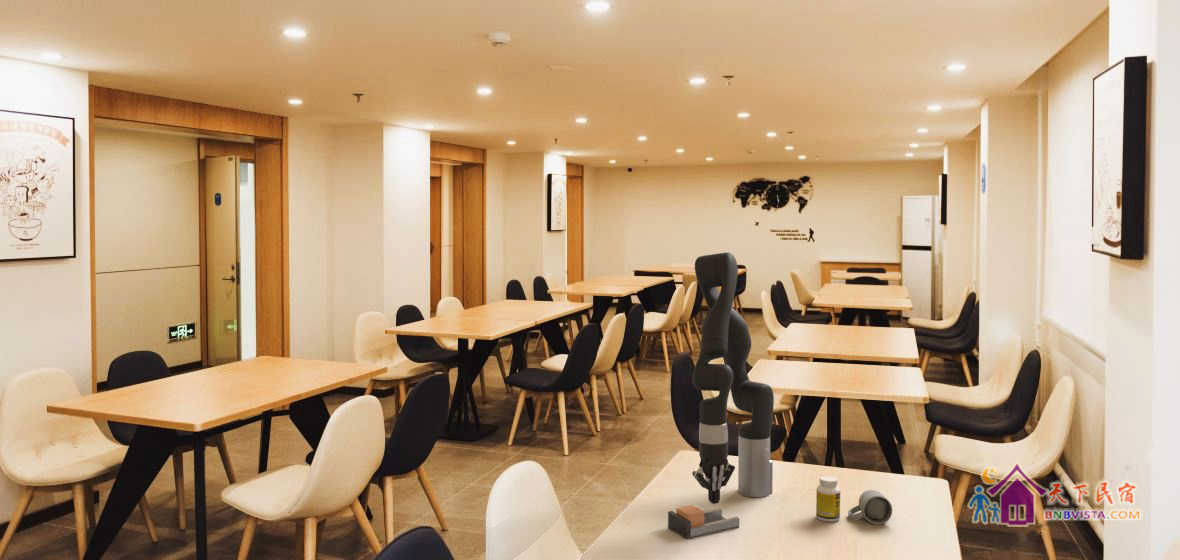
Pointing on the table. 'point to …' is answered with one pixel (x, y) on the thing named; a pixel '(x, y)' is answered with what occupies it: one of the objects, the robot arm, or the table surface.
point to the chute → (710, 526)
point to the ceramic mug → (872, 508)
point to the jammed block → (691, 514)
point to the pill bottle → (828, 500)
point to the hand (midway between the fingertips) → (714, 502)
